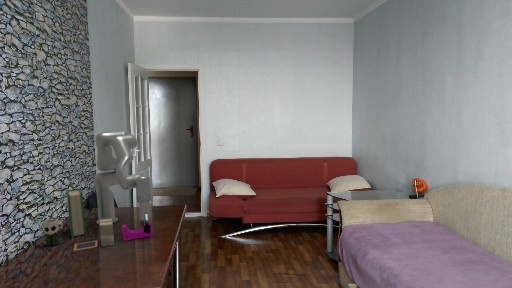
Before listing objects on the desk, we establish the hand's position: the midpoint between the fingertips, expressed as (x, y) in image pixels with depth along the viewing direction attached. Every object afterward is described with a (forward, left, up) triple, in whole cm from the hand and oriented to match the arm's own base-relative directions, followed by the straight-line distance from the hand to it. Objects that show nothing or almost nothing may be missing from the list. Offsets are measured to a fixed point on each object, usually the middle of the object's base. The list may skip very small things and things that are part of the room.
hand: (146, 230), depth 197 cm
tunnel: (0, -20, -3) cm, 20 cm away
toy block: (0, -5, -3) cm, 6 cm away
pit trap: (0, -30, -3) cm, 31 cm away
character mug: (-12, -47, -3) cm, 48 cm away
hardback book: (-28, -36, -3) cm, 46 cm away
